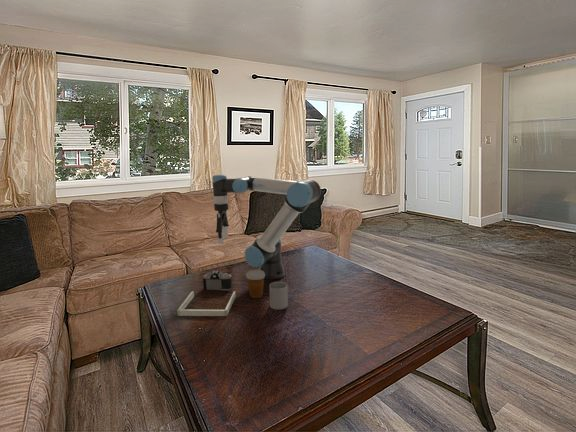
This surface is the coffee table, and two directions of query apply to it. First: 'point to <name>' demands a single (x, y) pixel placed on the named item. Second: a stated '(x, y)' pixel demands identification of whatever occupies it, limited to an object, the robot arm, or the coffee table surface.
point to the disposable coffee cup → (255, 283)
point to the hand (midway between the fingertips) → (223, 240)
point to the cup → (278, 295)
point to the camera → (217, 281)
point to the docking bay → (190, 312)
